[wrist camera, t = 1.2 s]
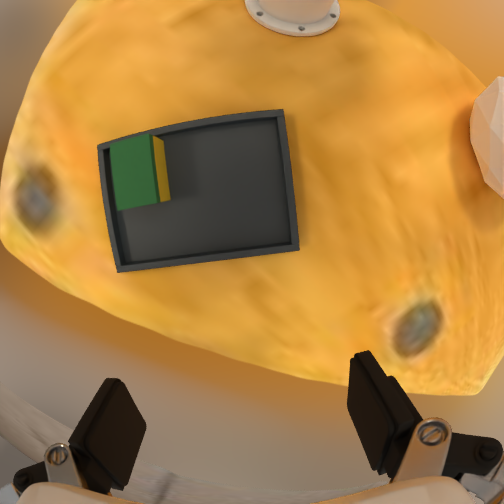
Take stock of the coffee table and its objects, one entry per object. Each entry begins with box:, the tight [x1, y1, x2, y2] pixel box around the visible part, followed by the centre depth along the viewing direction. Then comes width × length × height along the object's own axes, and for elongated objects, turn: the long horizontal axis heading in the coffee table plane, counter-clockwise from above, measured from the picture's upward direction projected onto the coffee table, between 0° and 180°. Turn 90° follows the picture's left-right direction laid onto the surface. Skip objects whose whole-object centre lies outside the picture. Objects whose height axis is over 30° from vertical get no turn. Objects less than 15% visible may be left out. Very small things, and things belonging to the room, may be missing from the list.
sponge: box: [110, 133, 171, 211], centre depth 26 cm, size 7×4×5 cm, turn 7°
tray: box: [97, 109, 300, 273], centre depth 29 cm, size 16×22×2 cm
